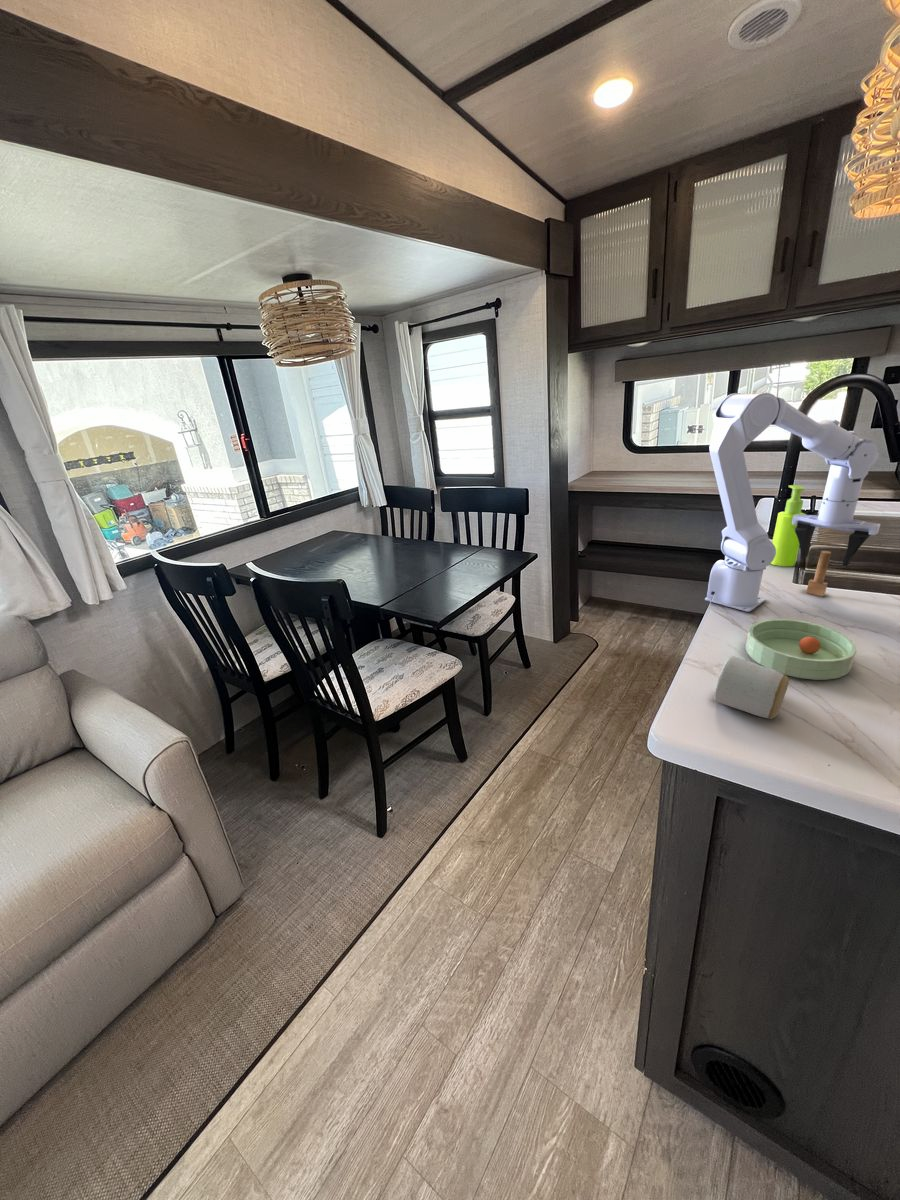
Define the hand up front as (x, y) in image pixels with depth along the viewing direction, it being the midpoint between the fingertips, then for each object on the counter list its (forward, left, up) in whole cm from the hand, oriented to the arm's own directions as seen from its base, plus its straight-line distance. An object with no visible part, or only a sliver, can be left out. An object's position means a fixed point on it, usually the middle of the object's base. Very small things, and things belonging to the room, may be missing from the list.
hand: (824, 560), depth 102 cm
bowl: (+7, -32, -8) cm, 34 cm away
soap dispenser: (-13, +17, -8) cm, 23 cm away
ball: (+8, -29, -6) cm, 31 cm away
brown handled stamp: (0, 0, -8) cm, 8 cm away
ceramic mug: (+7, -51, -8) cm, 52 cm away
